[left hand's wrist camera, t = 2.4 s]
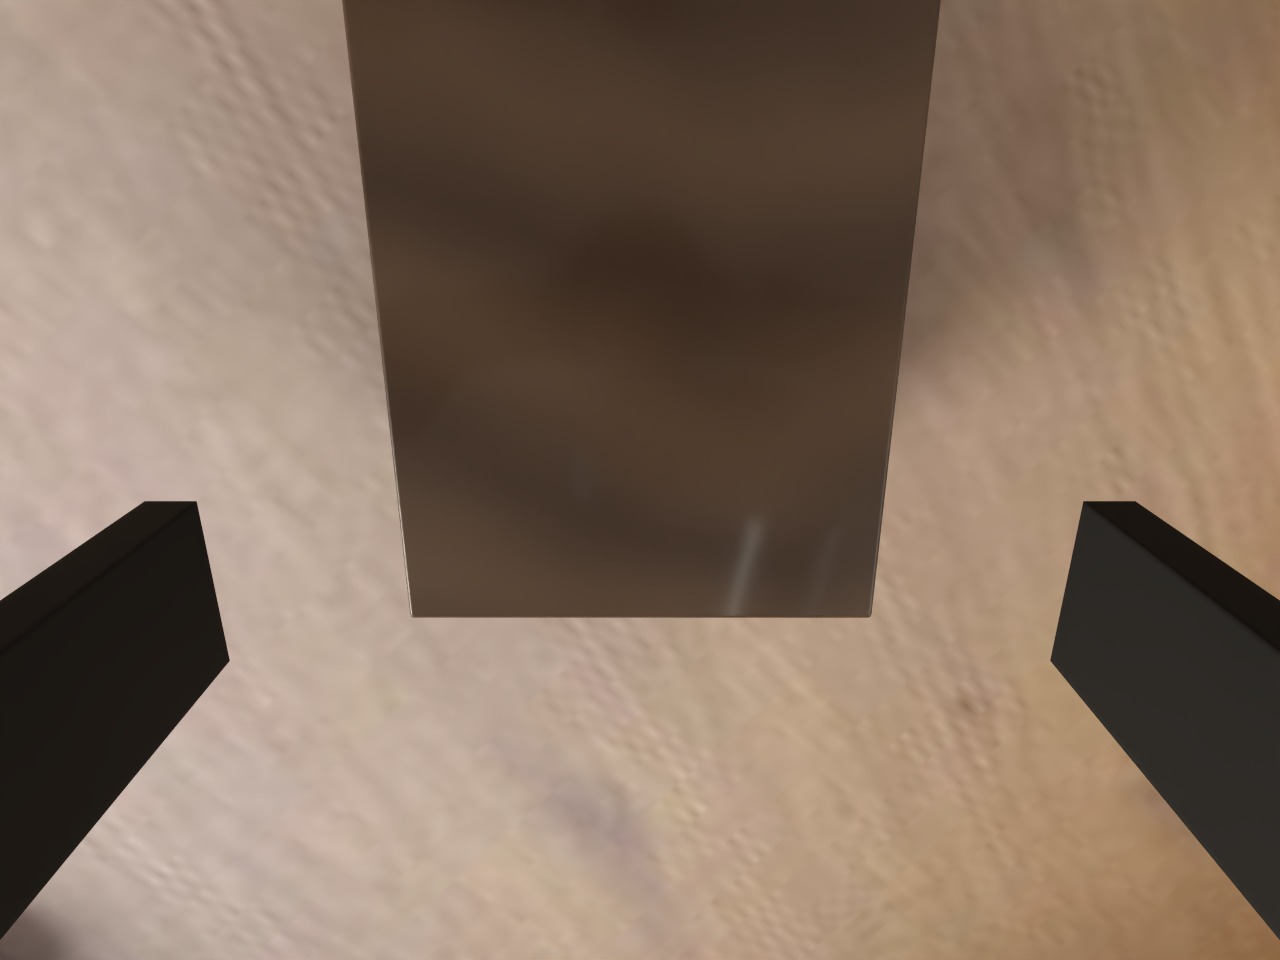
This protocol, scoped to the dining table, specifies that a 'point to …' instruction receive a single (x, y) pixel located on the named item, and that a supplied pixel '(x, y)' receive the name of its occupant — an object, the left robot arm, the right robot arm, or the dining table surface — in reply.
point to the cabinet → (641, 295)
